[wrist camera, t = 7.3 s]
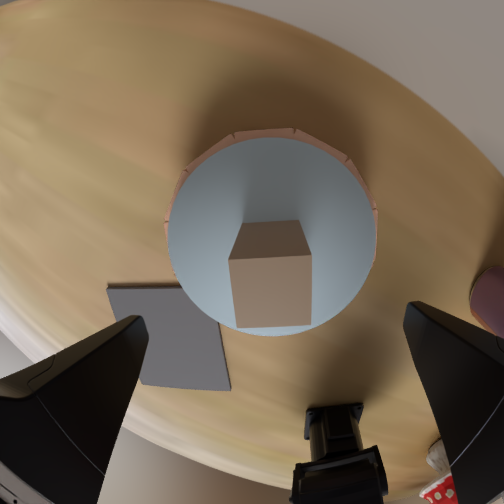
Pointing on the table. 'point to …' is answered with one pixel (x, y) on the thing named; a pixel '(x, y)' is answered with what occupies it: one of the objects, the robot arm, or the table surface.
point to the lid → (271, 236)
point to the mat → (175, 338)
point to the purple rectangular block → (489, 300)
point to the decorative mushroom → (439, 478)
